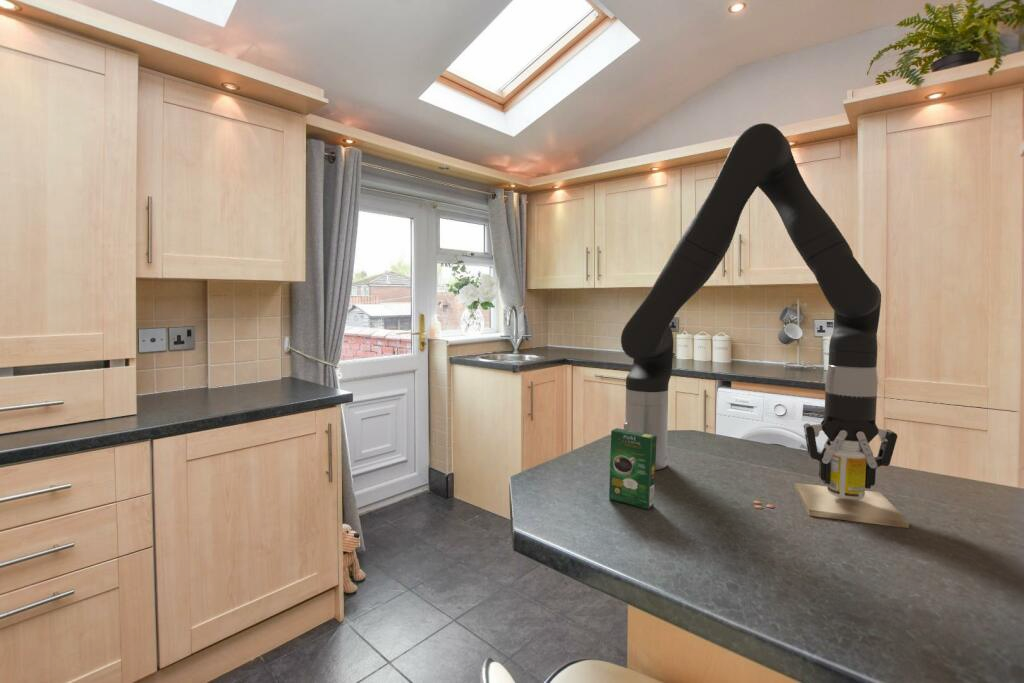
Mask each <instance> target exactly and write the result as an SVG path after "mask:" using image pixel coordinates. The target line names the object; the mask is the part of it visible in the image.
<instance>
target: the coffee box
mask: <svg viewBox="0 0 1024 683" xmlns="http://www.w3.org/2000/svg"><path fill="white" fill-rule="evenodd" d="M656 441H657V435H651V434H646V433H640V432H635V431H630V430H624V428H618V427H616V428H614V429H612V430H611V431H610V453H609V454H610V455H609V456H610V457H609V487H608V488H609V489H608V490H609V491H608V492H609V493H608V499H609V500H612V501H616V502H618V503H623V504H626V505H631V506H634V507H637V508H640V509H641V508H642V509H646V510H650V509H651V508H653V506H654V505H655V504H654V503H655V486H656V485H655V480H656V470H655V465H656Z"/></svg>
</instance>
